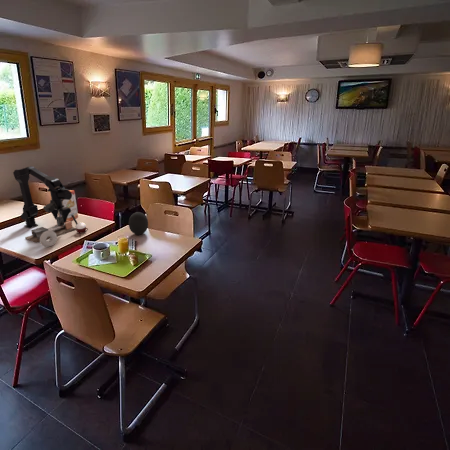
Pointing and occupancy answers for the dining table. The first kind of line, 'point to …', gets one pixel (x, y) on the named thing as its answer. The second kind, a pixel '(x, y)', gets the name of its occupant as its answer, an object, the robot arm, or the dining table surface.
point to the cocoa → (80, 226)
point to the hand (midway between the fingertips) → (60, 220)
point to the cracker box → (70, 206)
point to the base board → (37, 232)
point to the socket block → (68, 224)
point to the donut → (45, 235)
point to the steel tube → (58, 224)
